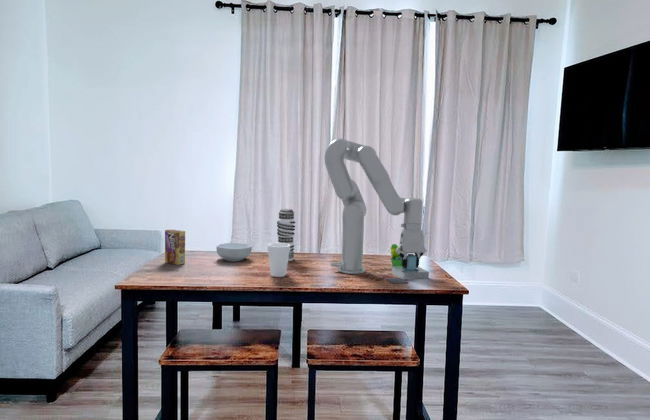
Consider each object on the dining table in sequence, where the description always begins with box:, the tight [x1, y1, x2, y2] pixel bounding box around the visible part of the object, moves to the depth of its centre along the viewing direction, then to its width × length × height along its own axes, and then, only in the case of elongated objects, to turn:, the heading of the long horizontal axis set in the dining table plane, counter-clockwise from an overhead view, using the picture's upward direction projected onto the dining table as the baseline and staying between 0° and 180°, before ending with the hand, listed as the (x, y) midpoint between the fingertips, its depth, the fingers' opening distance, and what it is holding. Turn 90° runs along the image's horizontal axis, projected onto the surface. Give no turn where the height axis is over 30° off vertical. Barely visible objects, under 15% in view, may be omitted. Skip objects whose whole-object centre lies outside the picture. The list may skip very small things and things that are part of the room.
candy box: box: [164, 228, 186, 266], centre depth 200 cm, size 9×4×15 cm, turn 63°
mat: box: [385, 277, 409, 285], centre depth 183 cm, size 7×7×1 cm
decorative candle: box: [276, 208, 296, 262], centre depth 216 cm, size 9×9×25 cm
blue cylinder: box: [404, 253, 417, 271], centre depth 193 cm, size 5×5×10 cm
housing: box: [391, 265, 430, 281], centre depth 193 cm, size 12×12×3 cm
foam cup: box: [267, 242, 290, 278], centre depth 186 cm, size 10×9×13 cm
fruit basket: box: [390, 243, 402, 267], centre depth 207 cm, size 11×9×11 cm
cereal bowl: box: [215, 242, 252, 262], centre depth 212 cm, size 17×17×7 cm
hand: (410, 266), depth 193 cm, fingers closed on blue cylinder, 5 cm apart
